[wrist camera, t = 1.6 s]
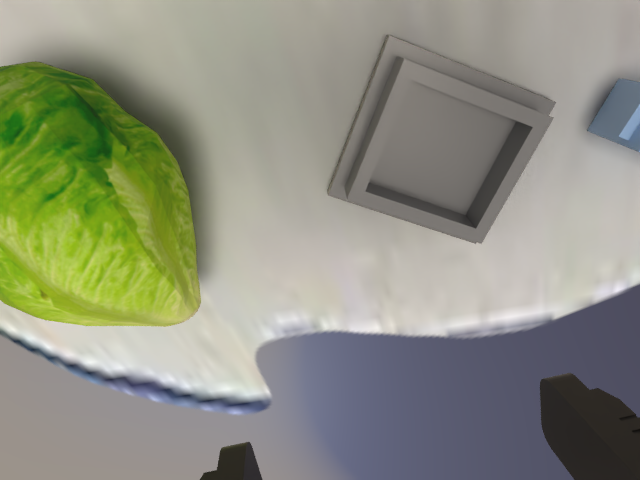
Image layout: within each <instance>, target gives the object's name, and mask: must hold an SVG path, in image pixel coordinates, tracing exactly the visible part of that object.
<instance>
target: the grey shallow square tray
mask: <svg viewBox="0 0 640 480" xmlns="http://www.w3.org/2000/svg"><path fill="white" fill-rule="evenodd" d="M555 103H556V102H554V101H552V100H549V99H547V98H544V97H542V96H539V95H537V94H535V93H532V92H530V91H527V90H525V89H522V88H520V87H517V86H515V85H512V84H510V83H507V82H505V81H502V80H500V79H497V78H495V77H492V76H490V75H487V74H485V73H482V72H480V71H477V70H475V69H472V68H470V67H467V66H465V65H462V64H460V63H457V62H455V61H452V60H450V59H447V58H445V57H442V56H440V55H437V54H435V53H433V52H430V51H428V50H425V49H423V48H420V47H418V46H415V45H413V44H410V43H408V42H405V41H403V40H400V39H398V38H395V37H393V36H390V35H387V37H386V40H385V42H384V45H383V47H382V50H381V53H380V55H379V58H378V61H377V63H376V66H375V68H374V71H373V74H372V76H371V79H370V81H369V84H368V87H367V89H366V92H365V94H364V97H363V100H362V102H361V105H360V107H359V110H358V113H357V115H356V118H355V121H354V123H353V126H352V128H351V131H350V134H349V136H348V139H347V141H346V144H345V147H344V149H343V152H342V154H341V157H340V160H339V162H338V165H337V167H336V170H335V173H334V175H333V178H332V181H331V183H330V186H329V188H328V195H329V196H332V197H335V198H338V199H341V200H344V201H347V202H350V203H353V204H356V205H359V206H362V207H365V208H368V209H371V210H374V211H377V212H380V213H384V214H387V215H390V216H393V217H396V218H399V219H402V220H405V221H408V222H411V223H414V224H417V225H420V226H423V227H426V228H429V229H432V230H435V231H438V232H441V233H445V234H448V235H451V236H454V237H457V238H460V239H463V240H466V241H469V242H472V243H475V244H476V242H478V243H482V242H483V240H484V238H485V237H486V235H487V233H488V231H489V230H490V228H491V226H492V224H493V223H494V221H495V219H496V217H497V216H498V214H499V212H500V210H501V209H502V207H503V205H504V203H505V202H506V200H507V198H508V197H509V195H510V193H511V191H512V190H513V188H514V186H515V184H516V183H517V181H518V179H519V177H520V176H521V174H522V172H523V170H524V169H525V167H526V165H527V163H528V162H529V160H530V158H531V156H532V155H533V153H534V151H535V150H536V148H537V146H538V144H539V143H540V141H541V139H542V137H543V136H544V134H545V132H546V130H547V129H548V127H549V125H550V123H551V122H552V120H553V117H550V116H549V114H550V112H551V110H552V109H553V107H554V105H555Z"/></svg>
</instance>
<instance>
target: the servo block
mask: <svg viewBox="0 0 640 480" xmlns="http://www.w3.org/2000/svg"><path fill="white" fill-rule="evenodd" d="M587 131H589V132H591V133H594V134H596V135H599V136H601V137H604V138H606V139H609V140H611V141H613V142H616V143H618V144H621V145H623V146H626V147H628V148H631V149H633V150H636V151H638V152H640V82H636V81H630V80H625V79H620V78H619V79H618V81H617V83H616V84H615V86H614V87H613V89H612V91H611V92H610V94H609V96H608V97H607V99H606V100H605V102H604V104H603V105H602V107H601V109H600V110H599V112H598V113H597V115H596V117H595V118H594V120H593V122H592V123H591V125H590V126H589V128H588V130H587Z"/></svg>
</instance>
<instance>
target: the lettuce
mask: <svg viewBox="0 0 640 480" xmlns="http://www.w3.org/2000/svg"><path fill="white" fill-rule="evenodd" d="M0 300H1V301H2V302H3V303H5V304H7V305H9V306H11V307H14V308H16V309H18V310H21V311H23V312H25V313H28V314H30V315H32V316H34V317H37V318H41V319H44V320H49V321H56V322H63V323H70V324H77V325H85V326H164V327H166V326H171V325H175V324H179V323H182V322H185V321H186V320H188V319H190V318H191V317H192V316H193V315H194V314H195V313H196V312H197V311H198V309H199V307H200V303H201V297H200V288H199V281H198V273H197V258H196V240H195V234H194V227H193V221H192V214H191V206H190V199H189V192H188V189H187V186H186V184H185V181H184V178H183V176H182V173H181V170H180V168H179V165H178V163H177V161H176V159H175V158H174V156H173V155H172V154H171V152H170V151H169V149H168V148H167V146H166V145H165V144H164V142H163V141H162V139H161V138H160V136H159V135H158V133H156V132H155V131H153V130H152V129H150V128H149V127H147V126H146V125H145V124H143V123H142V122H140V121H139V120H137V119H136V118H134V117H133V116H131V115H130V114H128V113H127V112H126V111H124V110H123V109H122V108H121V107H120V106H119V105H118V104H117V103H116V102H115V101H114V100H113V99H112V98H111V97H110V96H109V95H108V94H107V93H106V92H105V91H104V90H103V89H102V88H101V87H100V86H99V85H98V84H97V83H96V82H95V81H94V80H93V79H90V78H87V77H84V76H81V75H78V74H75V73H72V72H68V71H65V70H62V69H59V68H56V67H53V66H50V65H47V64H44V63H41V62H28V63H21V64H15V65H9V66H2V67H0Z"/></svg>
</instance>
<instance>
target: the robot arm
mask: <svg viewBox="0 0 640 480" xmlns="http://www.w3.org/2000/svg"><path fill="white" fill-rule="evenodd" d="M540 398H541V399H540V400H541V423H542V429H543V433H544V435H545V438H546V440H547V442H548V444H549V446H550V447H551V449H552V450H553V452H554V453H555V454H556V455H557V457H558V458H559V460H560V461H561V462H562V463H563V465H564V466H565V467H566V469H567V470H568V472H569V473H570V474H571V476H572V477H573V478H574V480H640V418H637V416H636V414H635V413H634V412H633V411H632V410H631V409H630V408H628V407H627V406H626V405H625V404H624V403H623V402H622V401H621V400H620V399H618V398H616V397H614V396H612V395H610V394H608V393H606V392H604V391H602V390H600V389H599V388H596V389H592V390H589V389H588V388H587V387H586V386H585V385H584V384H583V383H582V382H581V381H580V380H579V379H578V378H577V377H576V376H575V375H573V374H571V373H567V374H562V375H558V376H553V377H549V378H544V379H542V380H541V382H540ZM200 480H262V477H261V474H260V471H259V467H258V464H257V461H256V458H255V455H254V451H253V448H252V446H251V444H250V442H246V443H241V444H236V445H231V446H227V447H223V448H222V449H221V451H220V456H219V461H218V467H217V470H216V471H211V472H207V473H204V474H203V476H202V477H201V479H200Z"/></svg>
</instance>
